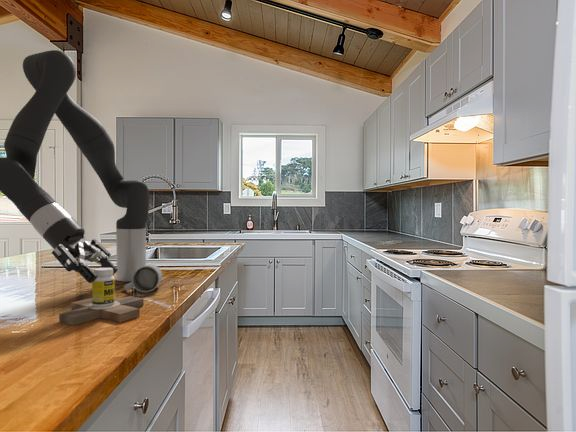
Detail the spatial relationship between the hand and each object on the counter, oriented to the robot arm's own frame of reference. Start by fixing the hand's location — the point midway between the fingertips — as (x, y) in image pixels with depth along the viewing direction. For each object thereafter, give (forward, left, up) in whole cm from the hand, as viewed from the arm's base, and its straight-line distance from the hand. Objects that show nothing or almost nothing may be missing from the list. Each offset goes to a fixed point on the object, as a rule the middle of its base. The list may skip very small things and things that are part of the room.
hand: (104, 276), depth 88 cm
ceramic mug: (-23, +6, -9) cm, 26 cm away
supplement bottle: (0, 0, -7) cm, 7 cm away
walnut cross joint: (0, 0, -9) cm, 9 cm away
